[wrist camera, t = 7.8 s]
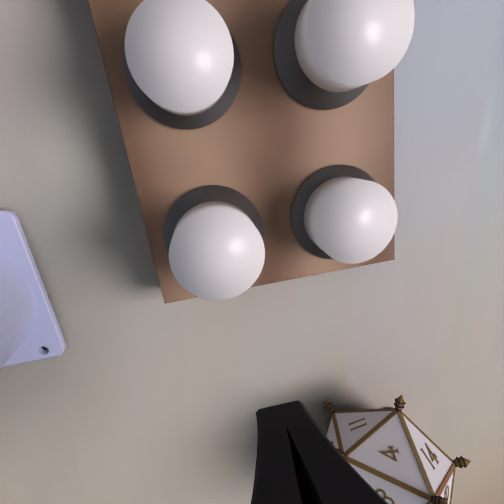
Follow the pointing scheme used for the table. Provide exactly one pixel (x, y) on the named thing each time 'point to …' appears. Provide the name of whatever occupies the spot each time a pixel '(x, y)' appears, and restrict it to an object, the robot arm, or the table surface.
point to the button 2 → (216, 251)
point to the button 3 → (352, 40)
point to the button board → (249, 139)
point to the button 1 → (179, 54)
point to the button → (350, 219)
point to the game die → (393, 455)
